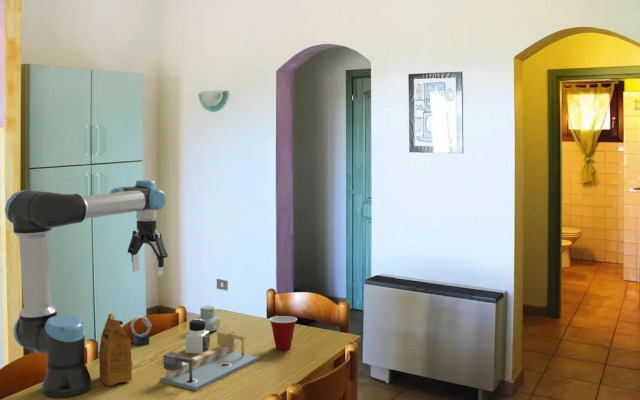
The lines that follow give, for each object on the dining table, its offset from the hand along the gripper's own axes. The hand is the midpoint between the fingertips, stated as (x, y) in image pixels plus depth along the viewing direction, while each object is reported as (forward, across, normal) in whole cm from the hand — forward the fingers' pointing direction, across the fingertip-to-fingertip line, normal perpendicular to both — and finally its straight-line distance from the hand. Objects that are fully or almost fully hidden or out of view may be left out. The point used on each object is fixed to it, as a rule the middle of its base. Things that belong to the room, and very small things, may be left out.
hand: (147, 273), depth 265 cm
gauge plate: (+28, -42, +8) cm, 51 cm away
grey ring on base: (+28, +2, +2) cm, 29 cm away
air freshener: (+28, -8, -25) cm, 39 cm away
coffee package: (+29, -21, +33) cm, 49 cm away
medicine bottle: (+28, -23, -4) cm, 37 cm away
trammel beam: (+27, -40, +7) cm, 49 cm away
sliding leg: (+26, -39, -6) cm, 48 cm away
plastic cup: (+28, -48, -25) cm, 61 cm away
